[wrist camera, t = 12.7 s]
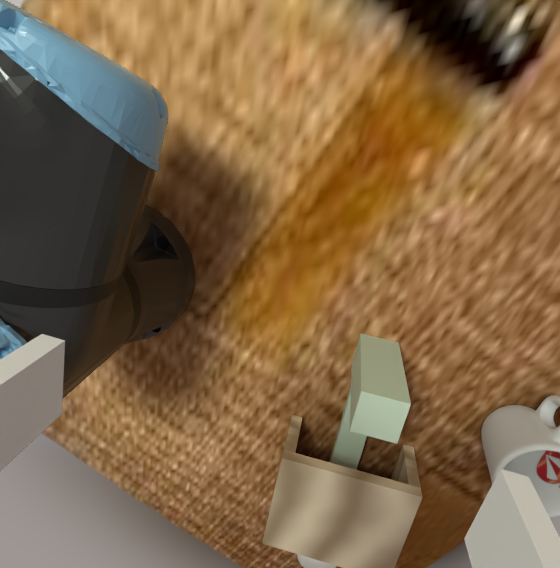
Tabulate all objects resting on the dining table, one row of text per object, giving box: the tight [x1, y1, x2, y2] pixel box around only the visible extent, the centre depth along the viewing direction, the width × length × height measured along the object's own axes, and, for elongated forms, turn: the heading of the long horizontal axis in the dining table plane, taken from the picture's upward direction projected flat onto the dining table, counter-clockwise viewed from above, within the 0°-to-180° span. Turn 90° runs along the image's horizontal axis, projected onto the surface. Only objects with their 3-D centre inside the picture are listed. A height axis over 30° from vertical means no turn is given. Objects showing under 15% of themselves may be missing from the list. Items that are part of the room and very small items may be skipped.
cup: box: [481, 395, 560, 517], centre depth 41 cm, size 11×8×8 cm
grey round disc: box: [298, 554, 336, 568], centre depth 53 cm, size 5×5×2 cm
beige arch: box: [262, 415, 423, 568], centre depth 47 cm, size 14×12×7 cm
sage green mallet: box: [329, 333, 411, 470], centre depth 43 cm, size 4×21×11 cm, turn 169°
